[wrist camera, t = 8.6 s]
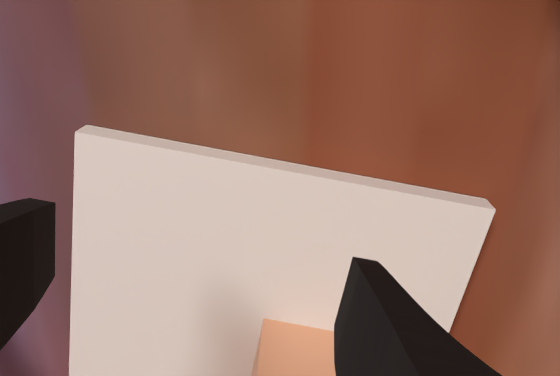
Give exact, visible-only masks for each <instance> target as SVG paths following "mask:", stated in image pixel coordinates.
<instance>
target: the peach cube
mask: <svg viewBox="0 0 560 376" xmlns="http://www.w3.org/2000/svg"><path fill="white" fill-rule="evenodd" d="M251 376H336V373H335V365H334V331H330V330H324V329H319V328H314V327H308V326H303V325H298V324H292V323H287V322H282V321H276V320H271V319H266V318H264V319H263V324H262V328H261V333H260V337H259V342H258V346H257V351H256V355H255V360H254V364H253V369H252V373H251Z"/></svg>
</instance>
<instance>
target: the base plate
mask: <svg viewBox="0 0 560 376" xmlns="http://www.w3.org/2000/svg"><path fill="white" fill-rule="evenodd" d="M495 211H496V209H495V208H494V207H493V206H492V205H491V204H490V203H489V202H488V201H487V199H484V198H479V197H473V196H468V195H463V194H457V193H452V192H447V191H441V190H436V189H430V188H425V187H420V186H414V185H409V184H403V183H398V182H393V181H387V180H382V179H377V178H371V177H366V176H360V175H355V174H350V173H344V172H339V171H333V170H328V169H323V168H317V167H312V166H307V165H301V164H296V163H290V162H285V161H280V160H274V159H269V158H263V157H258V156H253V155H247V154H242V153H237V152H231V151H226V150H220V149H215V148H210V147H204V146H199V145H193V144H188V143H183V142H177V141H172V140H167V139H161V138H156V137H150V136H145V135H140V134H134V133H129V132H123V131H118V130H113V129H107V128H102V127H97V126H91V125H85V126H84V127H82V128H81V129H79V130H77V131H76V132H75V151H74V192H73V233H72V274H71V315H70V357H69V376H251V373H252V369H253V364H254V360H255V355H256V351H257V346H258V342H259V337H260V333H261V328H262V324H263V319H264V318H266V319H271V320H276V321H282V322H287V323H292V324H298V325H303V326H308V327H314V328H319V329H324V330H330V331H334V324H335V320H336V316H337V313H338V309H339V305H340V302H341V298H342V294H343V291H344V287H345V283H346V280H347V276H348V272H349V269H350V265H351V261H352V258H353V257H358V258H364V259H369V260H375V261H378V262H379V263H380V264H381V265H382V266H383V267H384V268H385V269H386V270H387V271H388V272H389V273H390V274H391V275H392V276H393V277H394V278H395V279H396V281H397V282H398V283H399V284H400V285H401V286H402V287H403V288H404V289H405V290H406V291H407V293H408V294H409V295H410V296H411V297H412V298H413V299H414V300H415V301H416V302H417V303H418V304H419V305H420V306H421V307H422V308H423V309H424V310H425V311H426V312H427V313H428V314H429V315H430V316H431V317H432V318H433V319H434V320H435V321H436V322H437V323H438V324H439V325H440V326H441V327H442V328H443V329H444V330H446V331H447V332H448V333H449V331H450V328H451V326H452V323H453V320H454V318H455V315H456V313H457V310H458V307H459V305H460V302H461V300H462V297H463V294H464V292H465V289H466V286H467V284H468V281H469V279H470V276H471V273H472V271H473V268H474V266H475V263H476V260H477V258H478V255H479V252H480V250H481V247H482V245H483V242H484V239H485V237H486V234H487V232H488V229H489V226H490V224H491V221H492V218H493V216H494V213H495Z"/></svg>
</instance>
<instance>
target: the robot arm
mask: <svg viewBox="0 0 560 376" xmlns="http://www.w3.org/2000/svg"><path fill="white" fill-rule="evenodd" d="M54 276H55V203H54V202H48V201H43V200H37V199H32V198H28V199H21V200H17V201H13V202H9V203H5V204H1V205H0V350H1V349H2V348H3V347H4V345H5V344H6V343H7V342H8V341H9V339H10V338H11V337H12V336H13V335H14V333H15V332H16V331H17V330H18V329H19V327H20V326H21V325H22V324H23V323H24V321H25V320H26V319H27V318H28V317H29V315H30V314H31V313H32V312H33V310H34V309H35V307H36V306H37V304H38V303H39V301H40V300H41V298H42V297H43V295H44V293H45V292H46V290H47V288H48V287H49V285H50V283H51V282H52V280H53V278H54ZM334 365H335V373H336V376H502V375H500V374H499V373H498V372H496V371H495V370H493V369H492V368H491V367H489V366H488V365H487V364H485V363H484V362H483V361H481V360H480V359H479V358H478V357H476V356H475V355H474V354H473V353H471V352H470V351H469V350H468V349H466V348H465V347H464V346H463V345H461V344H460V343H459V342H458V341H457V340H456V339H454V338H453V337H452V336H451V335H450V334H449V333H448V332H447V331H446V330H444V329H443V328H442V327H441V326H440V325H439V324H438V323H437V322H436V321H435V320H434V319H433V318H432V317H431V316H430V315H429V314H428V313H427V312H426V311H425V310H424V309H423V308H422V307H421V306H420V305H419V304H418V303H417V302H416V301H415V300H414V299H413V298H412V297H411V296H410V295H409V294H408V293H407V291H406V290H405V289H404V288H403V287H402V286H401V285H400V284H399V283H398V282H397V281H396V279H395V278H394V277H393V276H392V275H391V274H390V273H389V272H388V271H387V270H386V269H385V268H384V267H383V266H382V265H381V264H380V263H379V262H378V261H375V260H369V259H364V258H358V257H353V258H352V261H351V265H350V269H349V272H348V276H347V280H346V283H345V287H344V291H343V294H342V298H341V302H340V305H339V309H338V313H337V316H336V320H335V324H334Z"/></svg>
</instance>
